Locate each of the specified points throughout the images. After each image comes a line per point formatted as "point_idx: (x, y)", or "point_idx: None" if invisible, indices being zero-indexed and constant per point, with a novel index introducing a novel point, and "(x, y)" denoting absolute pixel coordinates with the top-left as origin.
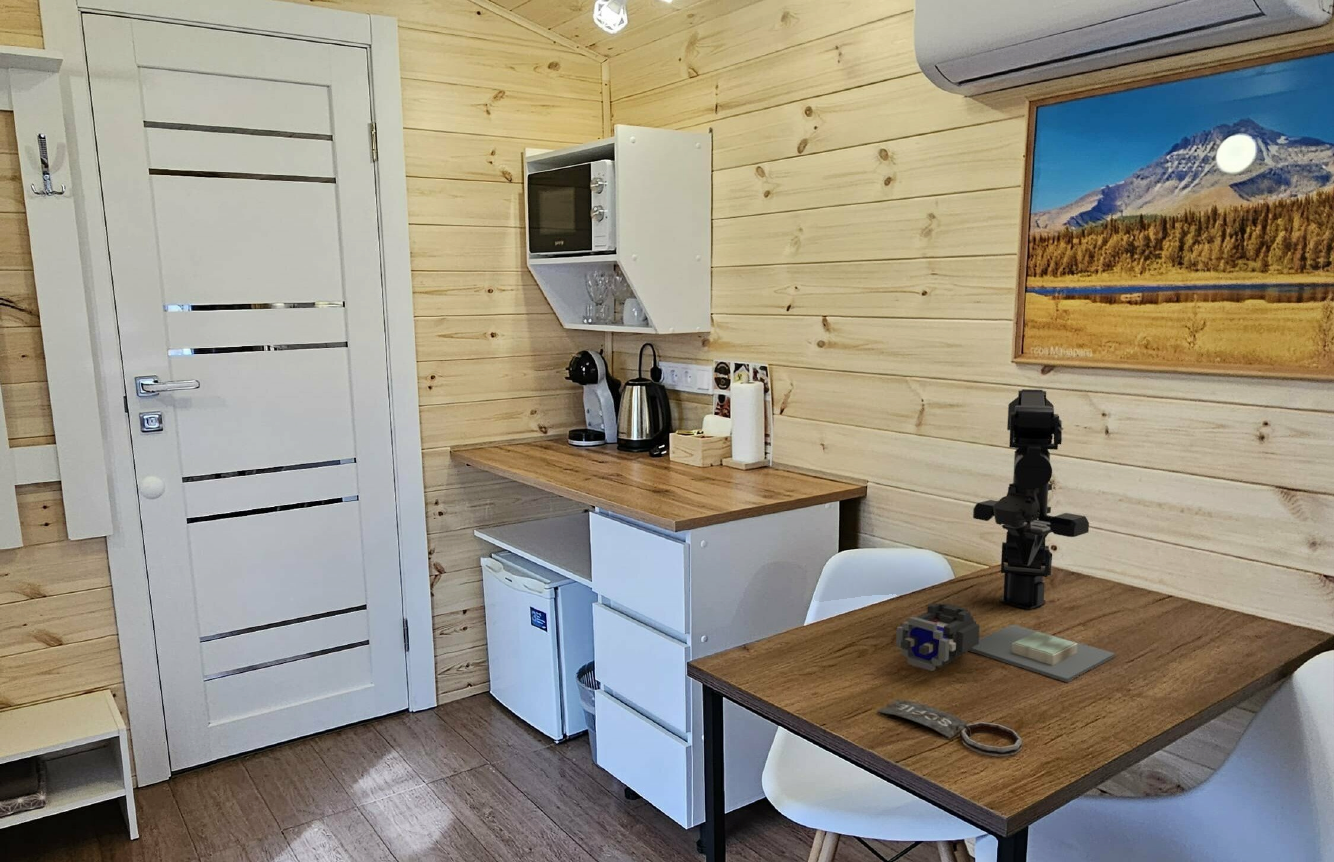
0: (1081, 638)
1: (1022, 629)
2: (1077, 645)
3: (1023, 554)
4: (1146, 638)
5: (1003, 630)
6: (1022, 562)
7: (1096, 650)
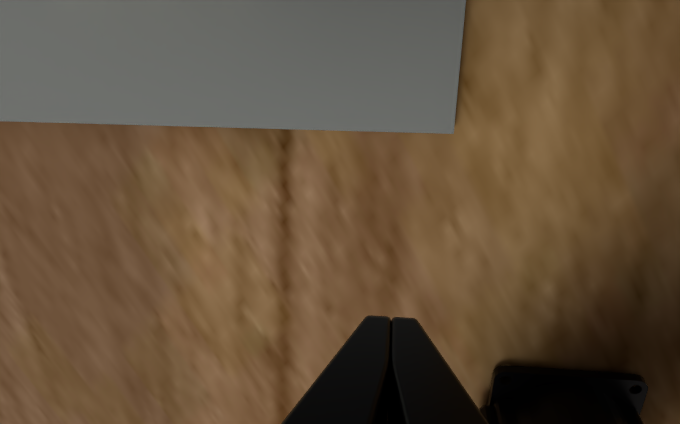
0: (190, 218)
1: (384, 98)
2: (114, 91)
3: (403, 386)
4: (72, 365)
5: (446, 7)
6: (420, 328)
7: (35, 94)
